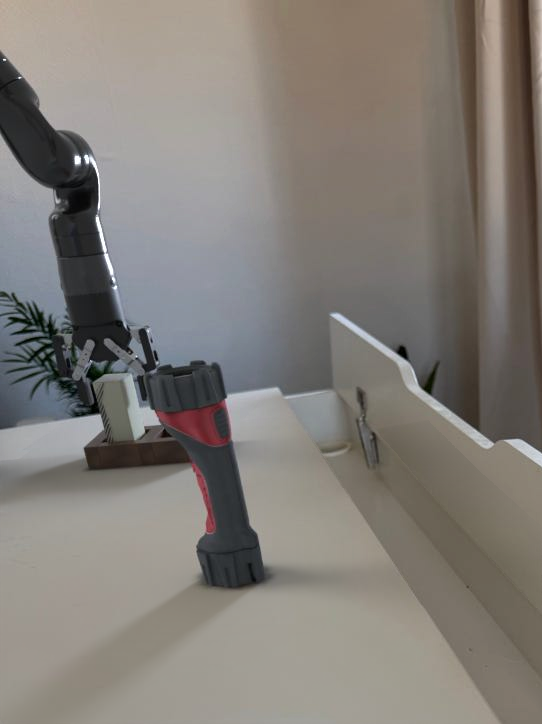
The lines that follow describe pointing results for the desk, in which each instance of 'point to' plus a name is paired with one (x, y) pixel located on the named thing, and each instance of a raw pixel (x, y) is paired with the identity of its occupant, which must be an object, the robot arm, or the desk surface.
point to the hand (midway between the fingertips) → (118, 402)
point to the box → (119, 407)
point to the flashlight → (209, 467)
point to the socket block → (135, 450)
